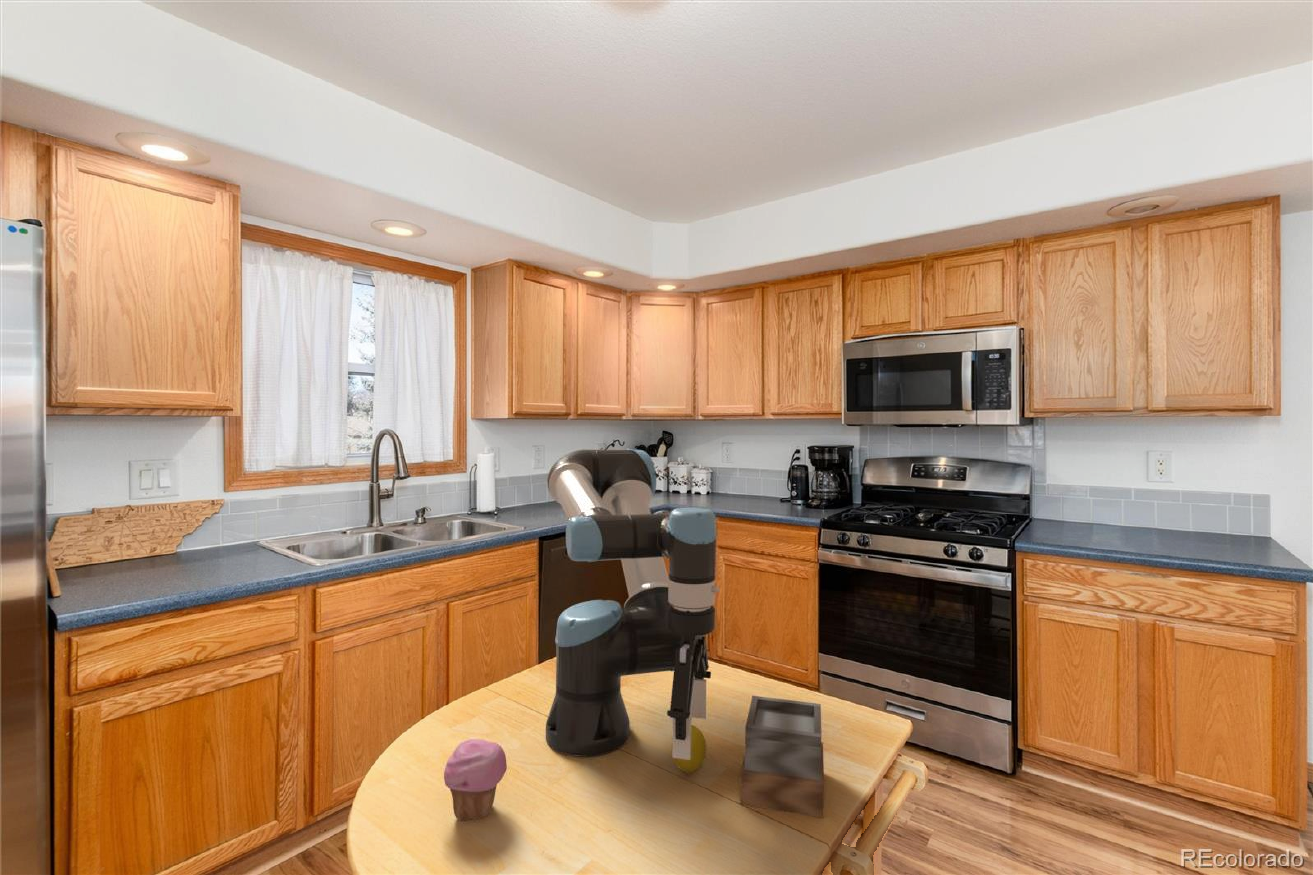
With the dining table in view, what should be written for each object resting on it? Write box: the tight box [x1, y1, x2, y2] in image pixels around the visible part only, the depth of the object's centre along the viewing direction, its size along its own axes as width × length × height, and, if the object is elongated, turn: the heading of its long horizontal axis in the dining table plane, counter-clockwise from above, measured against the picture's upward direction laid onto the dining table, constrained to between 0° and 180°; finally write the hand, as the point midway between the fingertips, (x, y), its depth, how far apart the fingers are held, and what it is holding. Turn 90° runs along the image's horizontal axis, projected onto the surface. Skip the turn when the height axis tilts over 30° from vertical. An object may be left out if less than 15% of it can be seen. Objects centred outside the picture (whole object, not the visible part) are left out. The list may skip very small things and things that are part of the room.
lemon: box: [672, 723, 707, 774], centre depth 101 cm, size 6×6×8 cm
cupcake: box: [443, 738, 508, 821], centre depth 90 cm, size 9×9×10 cm
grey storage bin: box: [739, 695, 825, 819], centre depth 97 cm, size 12×12×12 cm
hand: (690, 736), depth 100 cm, fingers open, 13 cm apart
